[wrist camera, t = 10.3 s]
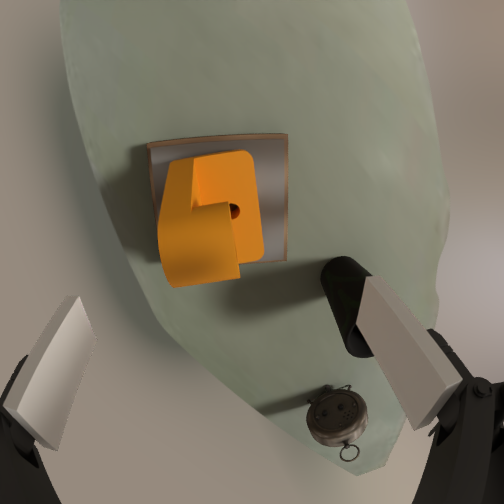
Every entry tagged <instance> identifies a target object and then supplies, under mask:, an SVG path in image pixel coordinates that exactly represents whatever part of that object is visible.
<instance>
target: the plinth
mask: <svg viewBox="0 0 504 504" xmlns="http://www.w3.org/2000/svg"><path fill="white" fill-rule="evenodd" d="M238 149H243V150H246V151H247V152H248V153H249V154H250V155H251V156H252V158H253V161H254V169H255V177H256V185H257V193H258V202H259V210H260V218H261V226H262V235H263V243H264V255H263V257H262V258H261V259H259V260H257V261H252V262H246V263H240V264H251V263H265V262H278V261H287V227H288V134H236V135H218V136H204V137H193V138H182V139H173V140H165V141H157V142H151V143H147V153H148V164H149V174H150V183H151V191H152V199H153V207H154V214H155V221H156V228H157V234H158V221H159V215H160V210H161V204H162V199H163V194H164V189H165V184H166V179H167V174H168V170H169V165H170V163H171V162H172V161H174V160H179V159H184V158H189V157H194V156H200V155H206V154H212V153H218V152H224V151H231V150H238ZM229 207H230V211H234V210H235V209H237V207H238V206H237V205H236V204H233V203H230V204H229Z"/></svg>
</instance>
